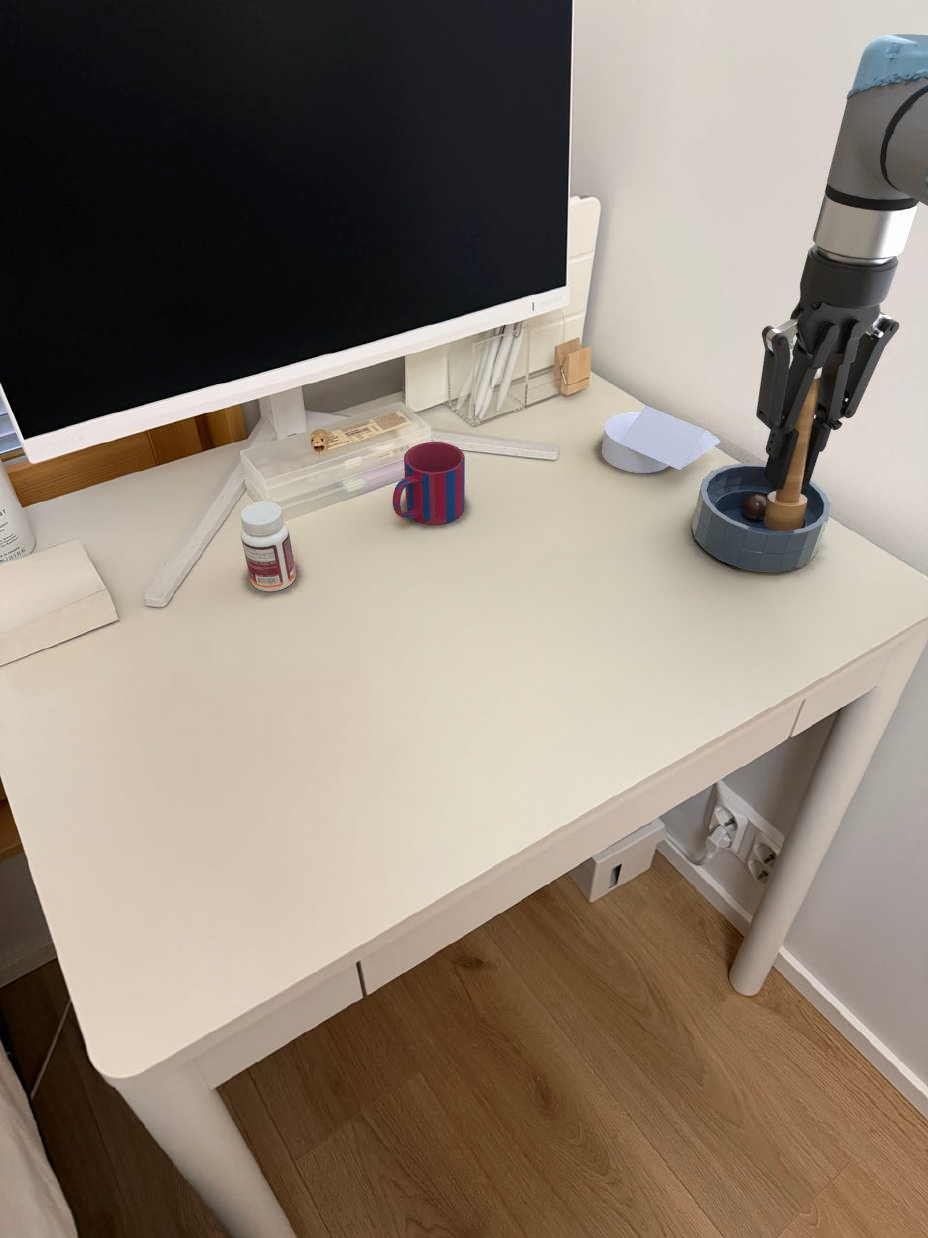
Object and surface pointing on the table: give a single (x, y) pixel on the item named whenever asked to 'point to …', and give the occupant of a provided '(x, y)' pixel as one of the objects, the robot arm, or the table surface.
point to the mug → (432, 483)
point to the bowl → (754, 522)
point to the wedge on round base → (653, 441)
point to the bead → (754, 507)
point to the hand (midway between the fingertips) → (786, 479)
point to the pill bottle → (267, 546)
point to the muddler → (794, 473)
